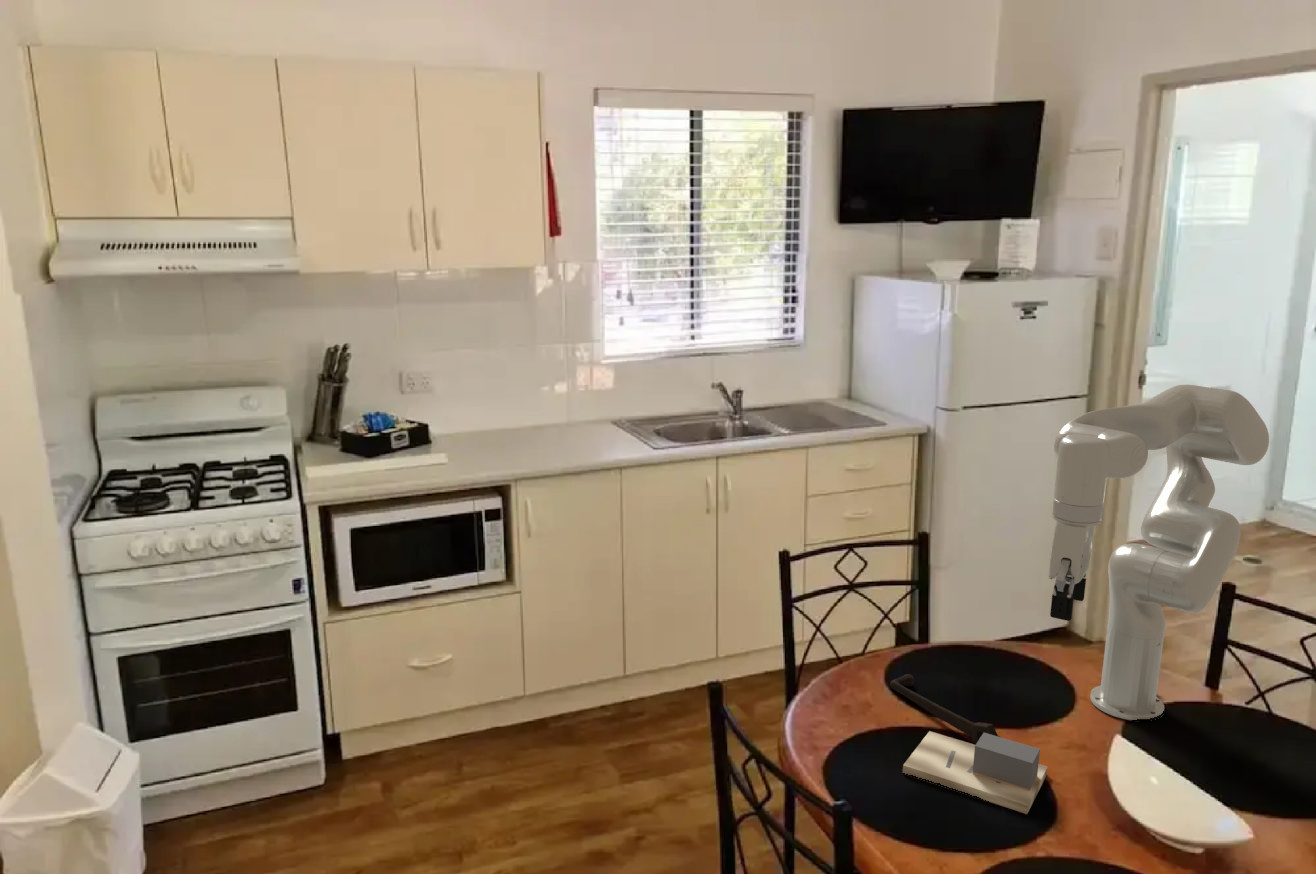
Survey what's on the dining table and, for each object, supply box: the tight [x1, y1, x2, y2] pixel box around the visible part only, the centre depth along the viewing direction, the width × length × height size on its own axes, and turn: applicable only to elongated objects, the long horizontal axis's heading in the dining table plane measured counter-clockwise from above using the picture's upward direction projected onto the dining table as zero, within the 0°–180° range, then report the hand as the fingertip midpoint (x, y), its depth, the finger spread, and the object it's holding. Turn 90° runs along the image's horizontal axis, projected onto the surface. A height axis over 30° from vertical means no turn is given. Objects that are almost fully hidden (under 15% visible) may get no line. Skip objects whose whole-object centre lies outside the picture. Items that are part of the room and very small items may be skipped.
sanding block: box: [973, 733, 1041, 791], centre depth 158 cm, size 5×9×5 cm, turn 56°
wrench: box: [889, 673, 1000, 745], centre depth 178 cm, size 5×5×30 cm
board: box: [902, 730, 1049, 815], centre depth 161 cm, size 13×20×2 cm, turn 56°
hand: (1067, 608), depth 163 cm, fingers open, 9 cm apart
